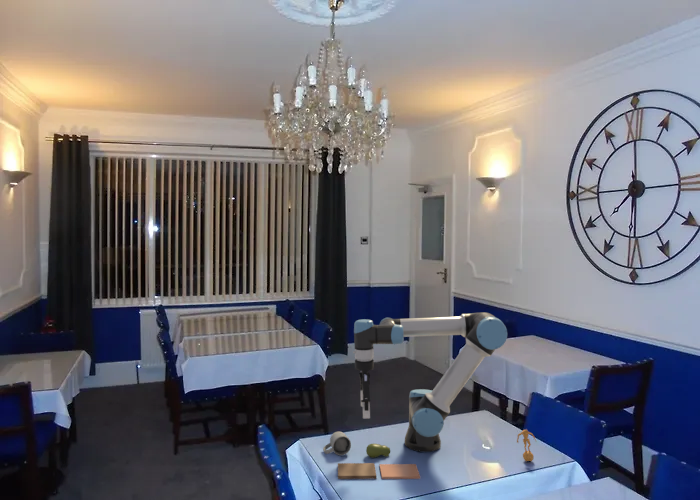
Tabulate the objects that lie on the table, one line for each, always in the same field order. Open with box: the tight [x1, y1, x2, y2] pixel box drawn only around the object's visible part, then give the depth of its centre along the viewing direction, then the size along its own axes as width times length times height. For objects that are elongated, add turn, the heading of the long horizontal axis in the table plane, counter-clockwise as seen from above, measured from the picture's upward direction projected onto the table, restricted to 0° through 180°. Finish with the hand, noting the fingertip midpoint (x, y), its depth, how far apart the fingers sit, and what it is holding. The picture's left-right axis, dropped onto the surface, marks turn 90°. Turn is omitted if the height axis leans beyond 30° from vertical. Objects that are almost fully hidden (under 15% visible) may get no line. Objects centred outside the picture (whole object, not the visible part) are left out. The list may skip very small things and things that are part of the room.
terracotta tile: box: [379, 463, 421, 480], centre depth 194 cm, size 14×10×1 cm
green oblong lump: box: [365, 442, 391, 459], centre depth 208 cm, size 6×5×10 cm
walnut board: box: [337, 462, 377, 480], centre depth 194 cm, size 14×10×1 cm
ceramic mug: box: [322, 431, 352, 456], centre depth 212 cm, size 11×8×8 cm
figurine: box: [516, 429, 537, 462], centre depth 206 cm, size 8×6×12 cm
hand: (365, 412), depth 207 cm, fingers open, 13 cm apart
